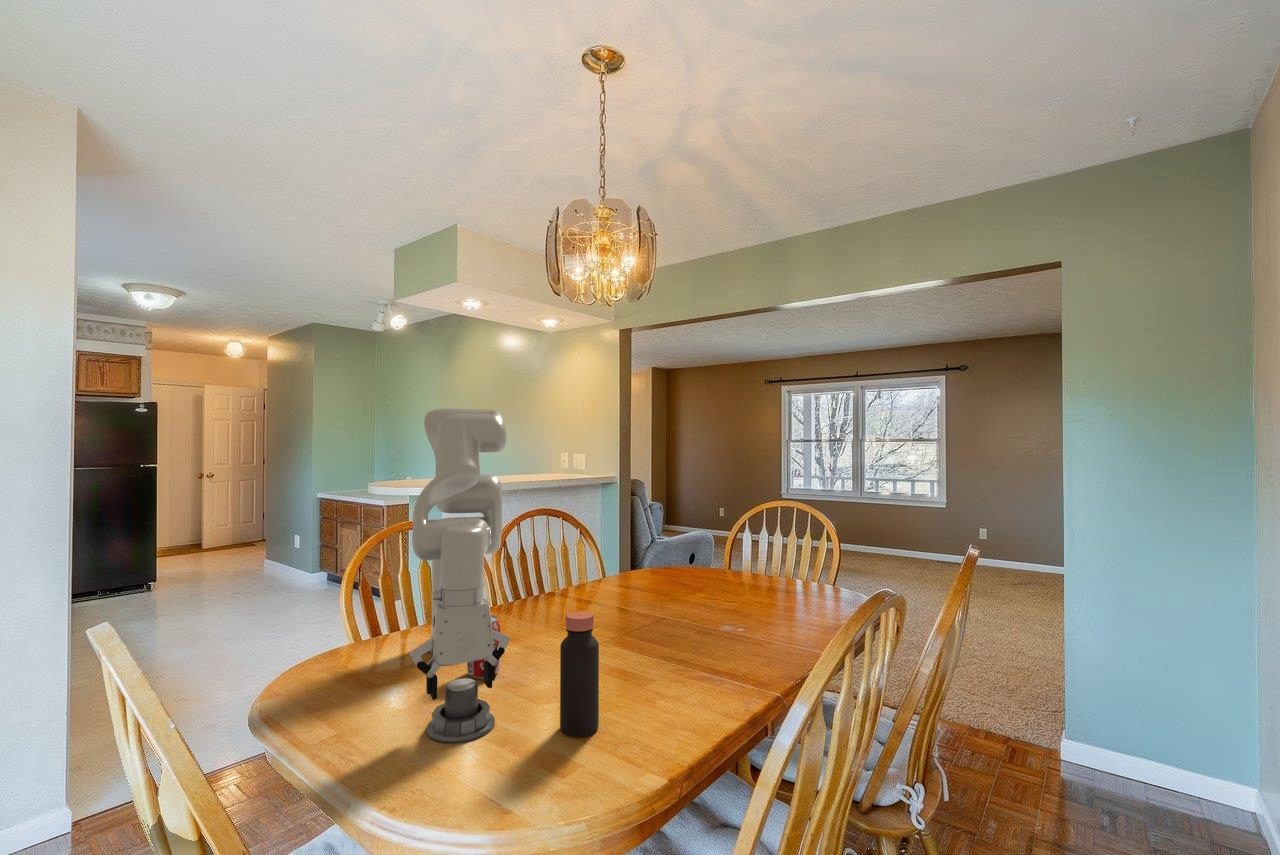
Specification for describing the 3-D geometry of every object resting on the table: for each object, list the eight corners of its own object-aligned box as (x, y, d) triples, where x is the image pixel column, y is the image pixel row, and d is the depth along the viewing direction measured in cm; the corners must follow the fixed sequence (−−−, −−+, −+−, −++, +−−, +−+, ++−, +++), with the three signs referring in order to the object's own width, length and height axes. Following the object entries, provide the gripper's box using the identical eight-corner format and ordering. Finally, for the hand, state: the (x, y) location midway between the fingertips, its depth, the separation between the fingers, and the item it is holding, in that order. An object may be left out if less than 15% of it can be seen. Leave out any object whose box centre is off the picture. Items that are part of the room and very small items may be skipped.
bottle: (566, 741, 101) (566, 622, 102) (555, 724, 107) (556, 612, 108) (604, 733, 104) (604, 617, 104) (591, 717, 110) (591, 608, 111)
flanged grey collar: (420, 721, 108) (421, 704, 108) (484, 707, 114) (484, 691, 114) (433, 749, 98) (433, 731, 98) (502, 732, 104) (502, 715, 104)
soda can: (506, 670, 132) (506, 616, 133) (488, 682, 126) (488, 625, 126) (479, 666, 135) (479, 612, 135) (460, 678, 128) (460, 621, 128)
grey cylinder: (441, 720, 107) (442, 681, 107) (472, 713, 110) (473, 675, 110) (448, 734, 102) (448, 692, 103) (481, 726, 105) (481, 686, 105)
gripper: (414, 607, 99) (413, 710, 99) (515, 594, 108) (514, 689, 108) (407, 596, 106) (406, 693, 106) (503, 584, 114) (502, 674, 114)
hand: (461, 690), depth 107 cm, fingers open, 9 cm apart
